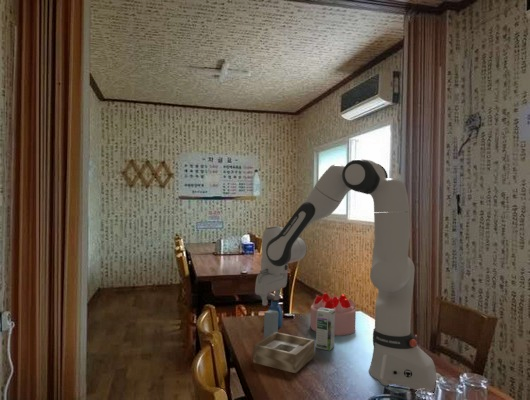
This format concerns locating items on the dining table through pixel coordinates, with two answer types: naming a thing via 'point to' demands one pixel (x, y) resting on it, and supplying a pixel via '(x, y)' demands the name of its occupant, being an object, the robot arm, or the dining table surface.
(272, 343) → the crate
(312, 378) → the dining table surface
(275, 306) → the perfume bottle
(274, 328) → the peg
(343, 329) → the cake
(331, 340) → the syrup box
